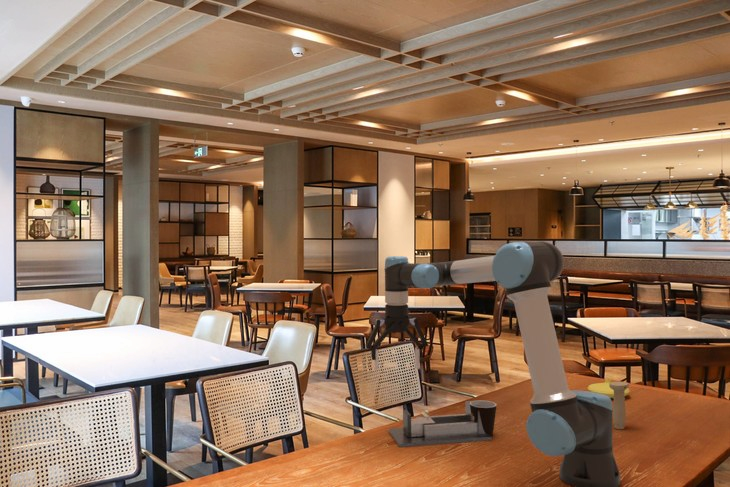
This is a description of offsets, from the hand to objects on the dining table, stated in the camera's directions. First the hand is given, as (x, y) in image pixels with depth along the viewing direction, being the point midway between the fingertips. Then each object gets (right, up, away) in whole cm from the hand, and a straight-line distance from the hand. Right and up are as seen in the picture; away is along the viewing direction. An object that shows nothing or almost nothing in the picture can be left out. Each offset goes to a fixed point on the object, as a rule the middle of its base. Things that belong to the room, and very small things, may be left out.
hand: (397, 369), depth 201 cm
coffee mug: (+29, -22, +3) cm, 36 cm away
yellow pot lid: (+88, -21, +48) cm, 102 cm away
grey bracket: (+7, -21, +3) cm, 22 cm away
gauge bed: (+14, -22, +1) cm, 26 cm away
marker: (+11, -21, +8) cm, 24 cm away
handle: (+75, -21, +6) cm, 78 cm away
